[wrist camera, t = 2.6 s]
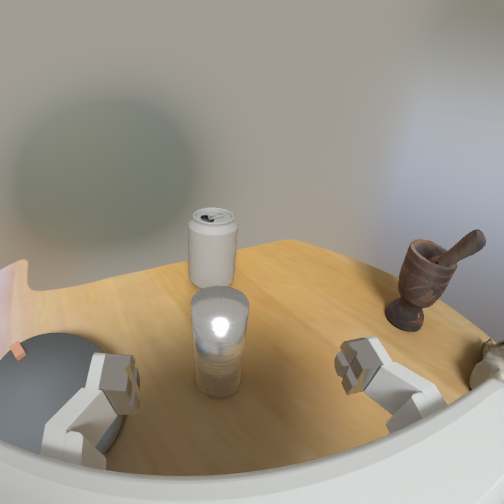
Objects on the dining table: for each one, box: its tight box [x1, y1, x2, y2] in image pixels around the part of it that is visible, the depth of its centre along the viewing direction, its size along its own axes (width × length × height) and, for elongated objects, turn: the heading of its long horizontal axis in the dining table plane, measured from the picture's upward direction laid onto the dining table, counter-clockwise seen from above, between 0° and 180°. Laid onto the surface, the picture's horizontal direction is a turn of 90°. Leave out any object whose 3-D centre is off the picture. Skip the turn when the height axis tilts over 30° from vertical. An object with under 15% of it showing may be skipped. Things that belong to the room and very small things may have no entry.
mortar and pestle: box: [386, 230, 486, 332], centre depth 35 cm, size 12×9×20 cm
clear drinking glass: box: [191, 286, 249, 398], centre depth 27 cm, size 5×5×12 cm
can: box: [188, 208, 238, 289], centre depth 44 cm, size 8×8×12 cm
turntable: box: [0, 333, 123, 455], centre depth 20 cm, size 18×18×3 cm
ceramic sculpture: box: [469, 338, 504, 390], centre depth 26 cm, size 11×9×15 cm
